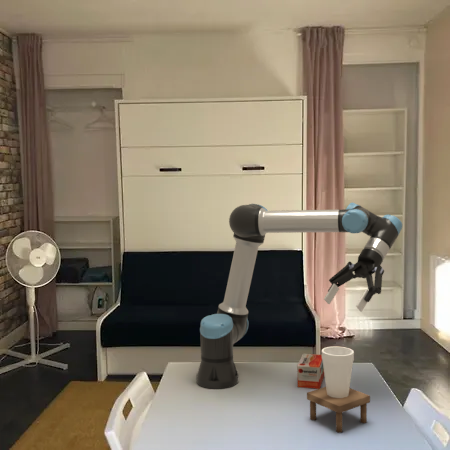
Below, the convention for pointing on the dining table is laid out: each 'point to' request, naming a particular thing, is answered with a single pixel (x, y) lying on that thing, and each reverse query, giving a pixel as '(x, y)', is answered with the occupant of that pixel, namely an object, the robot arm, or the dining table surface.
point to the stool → (339, 404)
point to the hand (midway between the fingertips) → (342, 305)
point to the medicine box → (310, 371)
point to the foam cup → (337, 370)
